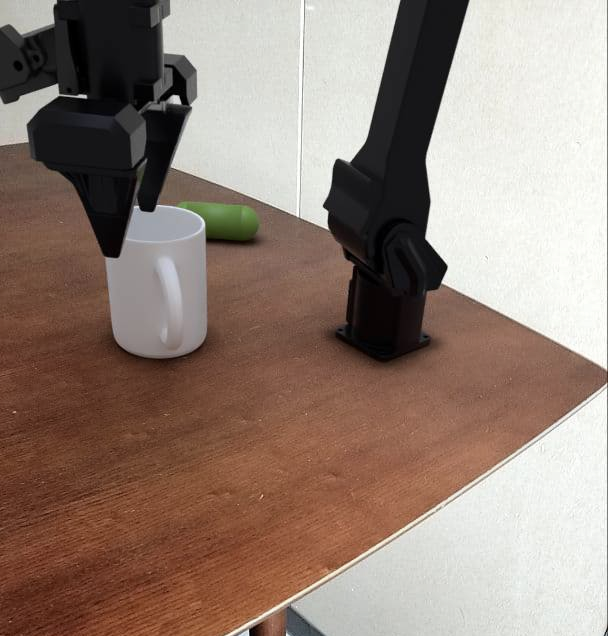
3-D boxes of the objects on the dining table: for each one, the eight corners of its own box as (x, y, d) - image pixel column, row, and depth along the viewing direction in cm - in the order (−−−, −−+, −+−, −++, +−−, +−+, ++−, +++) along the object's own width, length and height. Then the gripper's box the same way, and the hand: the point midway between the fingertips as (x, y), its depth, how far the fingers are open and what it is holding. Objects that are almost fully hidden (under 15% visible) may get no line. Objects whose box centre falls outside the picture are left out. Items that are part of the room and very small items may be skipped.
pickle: (260, 234, 97) (261, 202, 95) (257, 247, 94) (257, 213, 92) (175, 228, 97) (174, 195, 95) (169, 240, 94) (167, 206, 92)
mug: (227, 377, 72) (226, 257, 66) (127, 387, 70) (116, 264, 63) (196, 313, 81) (193, 202, 74) (107, 321, 79) (95, 207, 72)
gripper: (39, -50, 60) (65, 181, 70) (-86, -12, 46) (-32, 271, 56) (197, -36, 60) (200, 195, 70) (119, 7, 45) (137, 290, 55)
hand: (130, 232), depth 63 cm, fingers open, 9 cm apart
